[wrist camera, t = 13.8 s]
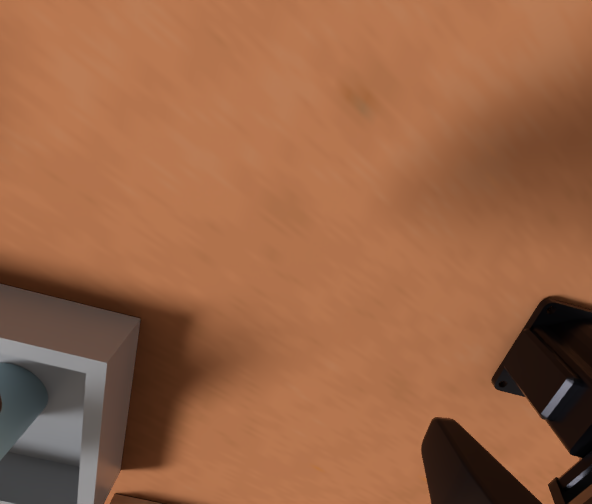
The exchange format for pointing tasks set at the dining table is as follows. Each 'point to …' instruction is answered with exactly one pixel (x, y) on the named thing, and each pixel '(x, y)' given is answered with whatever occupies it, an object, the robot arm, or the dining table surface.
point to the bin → (67, 397)
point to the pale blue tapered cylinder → (18, 403)
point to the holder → (129, 500)
